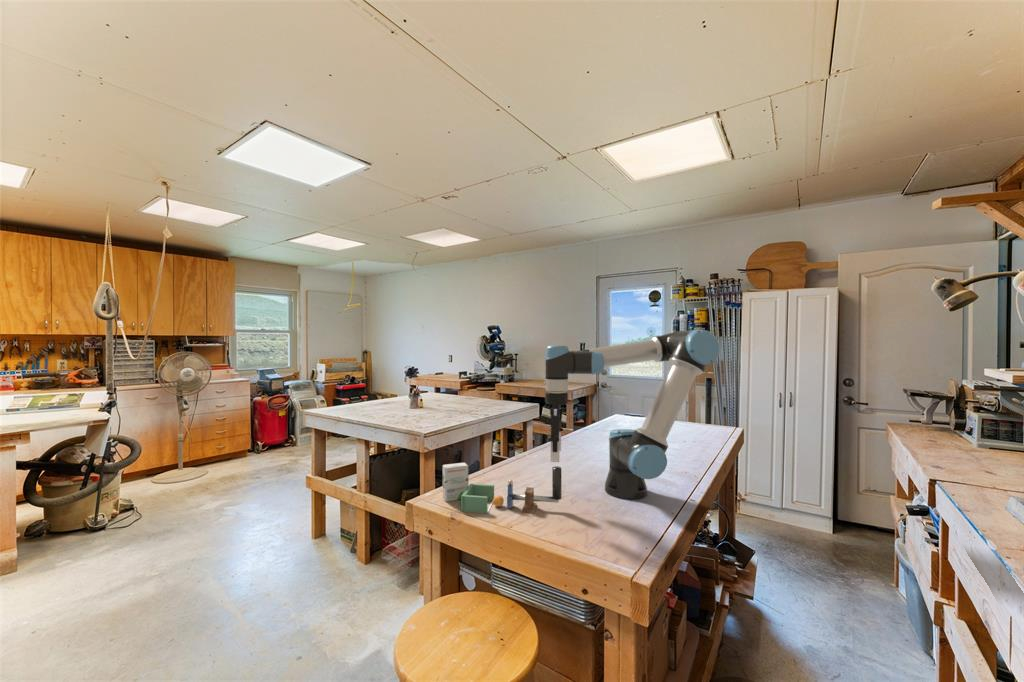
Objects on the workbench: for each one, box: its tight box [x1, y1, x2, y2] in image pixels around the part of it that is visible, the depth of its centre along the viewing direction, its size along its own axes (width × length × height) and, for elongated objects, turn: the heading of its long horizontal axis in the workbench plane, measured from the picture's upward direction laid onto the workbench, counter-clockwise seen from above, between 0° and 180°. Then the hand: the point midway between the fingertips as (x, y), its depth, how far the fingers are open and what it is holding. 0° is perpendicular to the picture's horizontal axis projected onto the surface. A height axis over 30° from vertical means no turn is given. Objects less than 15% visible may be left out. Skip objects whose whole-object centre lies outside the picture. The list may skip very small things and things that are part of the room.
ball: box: [493, 495, 505, 508], centre depth 133 cm, size 4×4×4 cm
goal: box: [460, 483, 495, 514], centre depth 134 cm, size 9×12×5 cm
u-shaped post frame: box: [506, 465, 563, 509], centre depth 131 cm, size 18×3×14 cm, turn 81°
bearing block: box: [521, 486, 537, 514], centre depth 131 cm, size 4×7×6 cm, turn 171°
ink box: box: [442, 462, 469, 503], centre depth 140 cm, size 9×5×12 cm, turn 112°
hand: (556, 456), depth 130 cm, fingers open, 13 cm apart
